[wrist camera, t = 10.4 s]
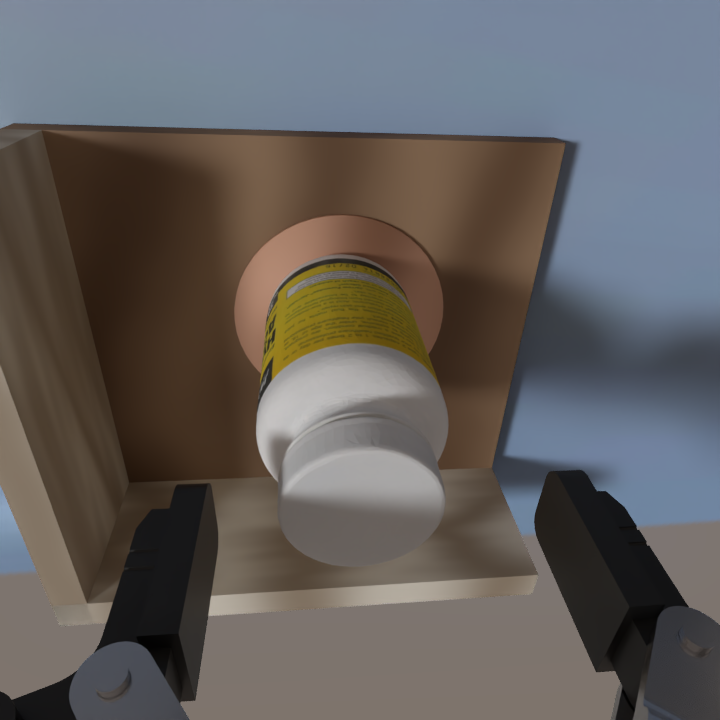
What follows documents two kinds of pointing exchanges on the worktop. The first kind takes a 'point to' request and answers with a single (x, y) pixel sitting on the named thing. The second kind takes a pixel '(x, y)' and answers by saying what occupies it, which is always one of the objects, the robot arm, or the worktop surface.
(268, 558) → the wooden l-shaped piece
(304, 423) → the supplement bottle
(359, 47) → the worktop surface
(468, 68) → the worktop surface
